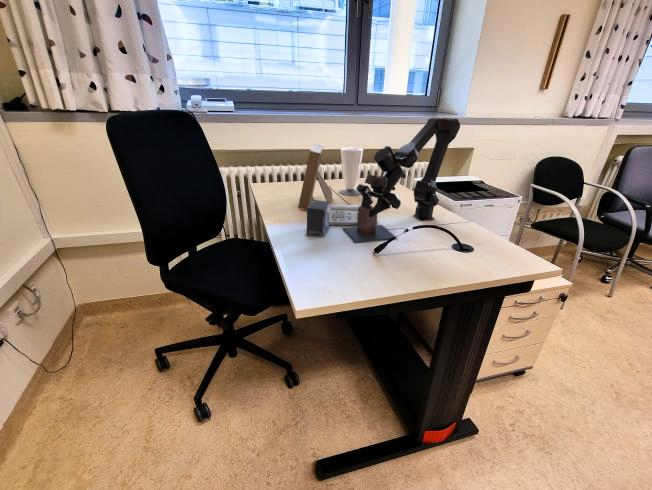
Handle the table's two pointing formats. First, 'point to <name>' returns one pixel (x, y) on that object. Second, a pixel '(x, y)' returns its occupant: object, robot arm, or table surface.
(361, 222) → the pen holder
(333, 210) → the office telephone
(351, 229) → the desk pad
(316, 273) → the table surface
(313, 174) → the photo frame
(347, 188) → the cup
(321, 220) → the small box
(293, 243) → the table surface
